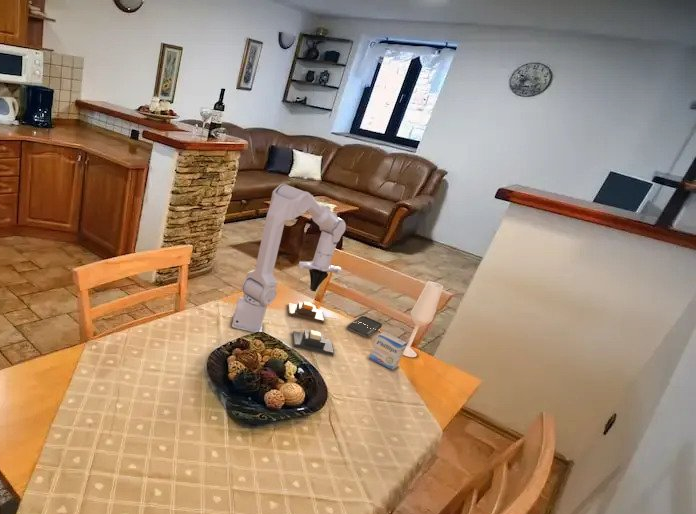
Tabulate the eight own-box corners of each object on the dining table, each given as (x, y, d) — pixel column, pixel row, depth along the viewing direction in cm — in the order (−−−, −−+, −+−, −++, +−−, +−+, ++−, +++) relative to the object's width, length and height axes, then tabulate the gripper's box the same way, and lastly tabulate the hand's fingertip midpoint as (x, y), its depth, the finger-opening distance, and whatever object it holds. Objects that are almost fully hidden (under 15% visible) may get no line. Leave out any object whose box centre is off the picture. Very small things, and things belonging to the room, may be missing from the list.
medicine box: (368, 358, 154) (377, 334, 150) (374, 354, 157) (384, 330, 153) (392, 370, 150) (402, 345, 146) (397, 366, 153) (408, 342, 149)
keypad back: (288, 315, 172) (290, 308, 171) (287, 305, 180) (290, 298, 179) (322, 323, 172) (325, 315, 170) (320, 313, 180) (323, 305, 178)
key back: (302, 308, 173) (304, 304, 173) (302, 305, 176) (303, 301, 176) (311, 310, 173) (313, 306, 173) (311, 307, 176) (312, 303, 175)
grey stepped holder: (293, 347, 152) (296, 338, 150) (292, 334, 160) (295, 325, 158) (332, 356, 151) (335, 347, 150) (329, 342, 159) (332, 334, 158)
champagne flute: (416, 359, 160) (447, 290, 149) (395, 352, 162) (424, 284, 151) (416, 351, 166) (446, 284, 155) (396, 344, 168) (424, 278, 157)
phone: (383, 324, 178) (368, 335, 167) (382, 326, 179) (367, 337, 167) (362, 315, 182) (346, 325, 171) (361, 318, 182) (345, 328, 171)
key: (309, 338, 153) (311, 334, 152) (309, 334, 156) (310, 329, 155) (320, 341, 153) (321, 336, 152) (319, 336, 156) (320, 332, 155)
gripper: (308, 253, 160) (296, 292, 167) (349, 259, 164) (336, 297, 170) (301, 246, 167) (290, 284, 173) (340, 252, 170) (328, 288, 176)
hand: (312, 290), depth 172 cm, fingers closed
